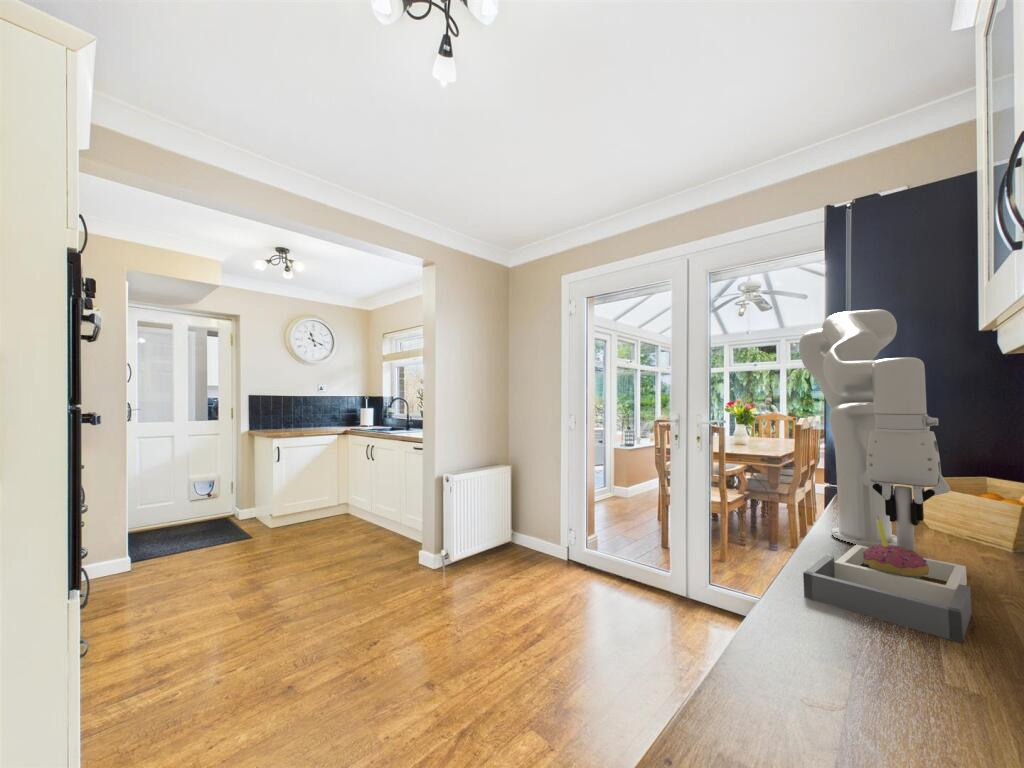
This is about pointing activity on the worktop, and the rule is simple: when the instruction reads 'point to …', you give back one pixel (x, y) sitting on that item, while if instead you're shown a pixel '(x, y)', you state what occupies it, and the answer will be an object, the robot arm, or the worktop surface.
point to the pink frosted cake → (894, 558)
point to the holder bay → (889, 603)
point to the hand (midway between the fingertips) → (904, 521)
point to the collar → (903, 585)
